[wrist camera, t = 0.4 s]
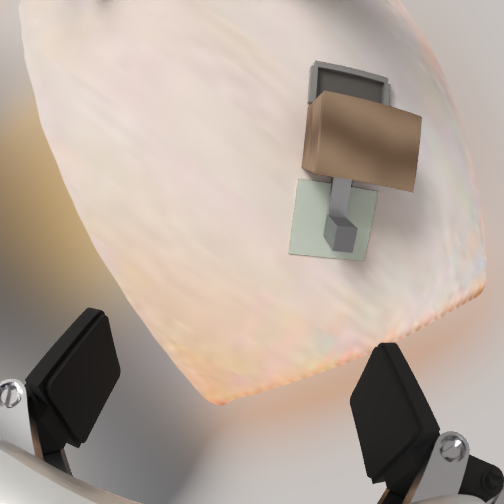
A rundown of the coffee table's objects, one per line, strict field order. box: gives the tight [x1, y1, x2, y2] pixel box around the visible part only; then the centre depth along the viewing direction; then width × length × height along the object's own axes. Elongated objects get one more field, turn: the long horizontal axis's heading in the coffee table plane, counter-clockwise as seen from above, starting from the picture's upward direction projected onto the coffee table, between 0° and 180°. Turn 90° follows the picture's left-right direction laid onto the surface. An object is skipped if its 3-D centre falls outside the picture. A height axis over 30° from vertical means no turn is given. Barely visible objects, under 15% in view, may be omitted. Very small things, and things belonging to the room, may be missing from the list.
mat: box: [288, 179, 378, 261], centre depth 35 cm, size 10×11×1 cm
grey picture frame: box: [308, 61, 390, 106], centre depth 29 cm, size 6×11×1 cm, turn 85°
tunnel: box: [302, 91, 422, 192], centre depth 27 cm, size 8×10×10 cm
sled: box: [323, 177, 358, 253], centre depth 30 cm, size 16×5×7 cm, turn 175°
